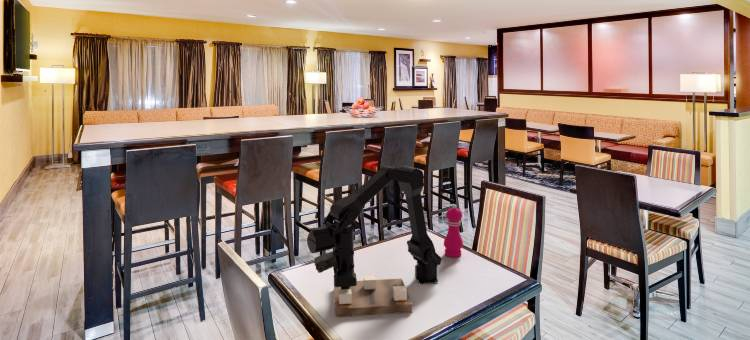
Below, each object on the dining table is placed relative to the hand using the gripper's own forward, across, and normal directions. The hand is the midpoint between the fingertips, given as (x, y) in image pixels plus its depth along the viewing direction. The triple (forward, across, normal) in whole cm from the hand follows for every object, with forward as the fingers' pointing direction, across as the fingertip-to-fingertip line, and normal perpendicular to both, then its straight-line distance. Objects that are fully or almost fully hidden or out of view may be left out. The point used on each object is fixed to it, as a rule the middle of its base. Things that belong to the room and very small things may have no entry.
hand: (344, 294), depth 130 cm
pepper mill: (+4, -34, +43) cm, 55 cm away
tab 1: (0, +3, 0) cm, 3 cm away
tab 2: (+1, -5, +8) cm, 10 cm away
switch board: (+3, -2, +8) cm, 9 cm away
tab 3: (0, +3, +16) cm, 16 cm away
